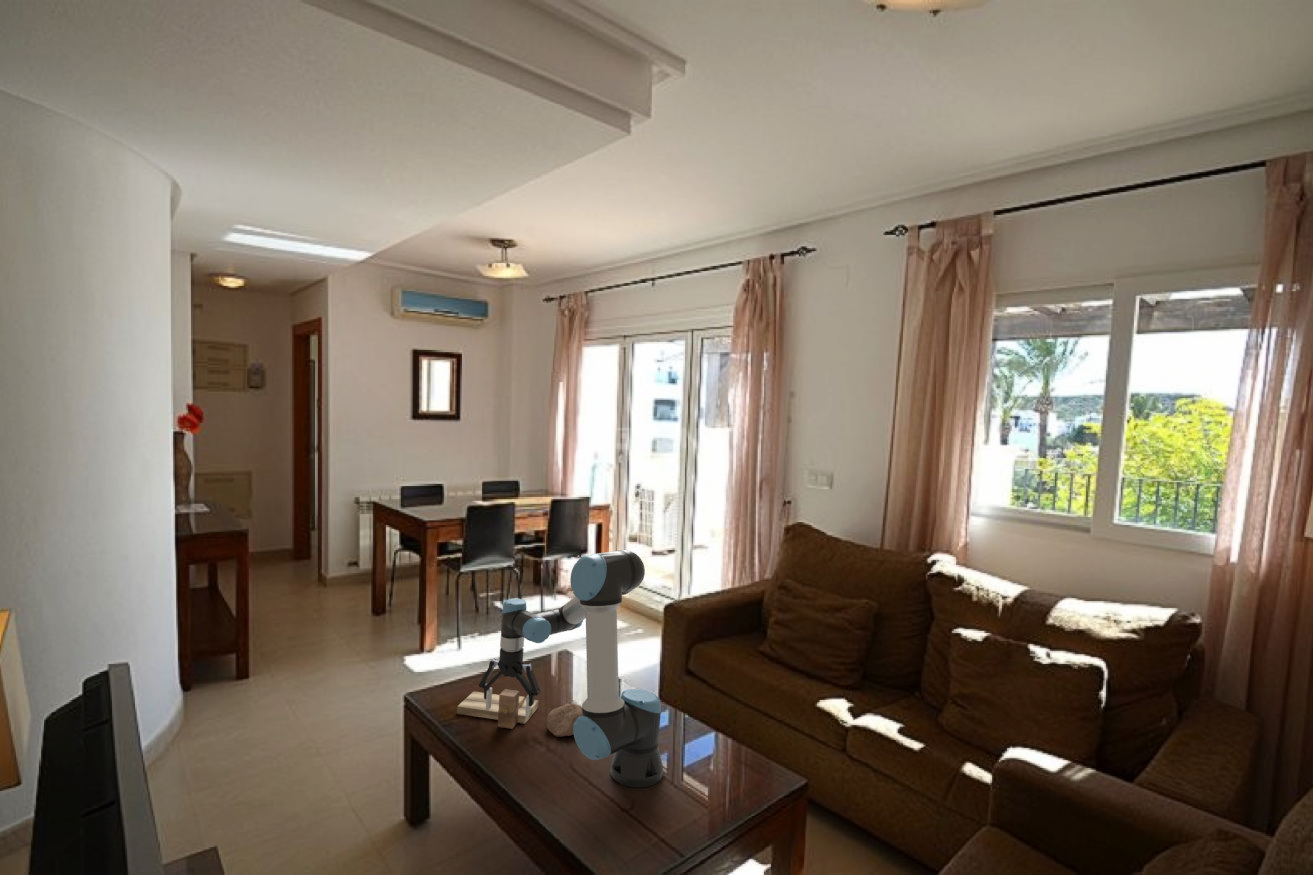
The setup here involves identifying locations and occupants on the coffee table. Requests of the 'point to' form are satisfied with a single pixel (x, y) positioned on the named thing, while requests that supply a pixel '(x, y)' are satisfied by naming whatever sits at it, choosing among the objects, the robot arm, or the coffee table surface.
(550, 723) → the stone
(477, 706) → the board
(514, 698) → the block
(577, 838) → the coffee table surface
